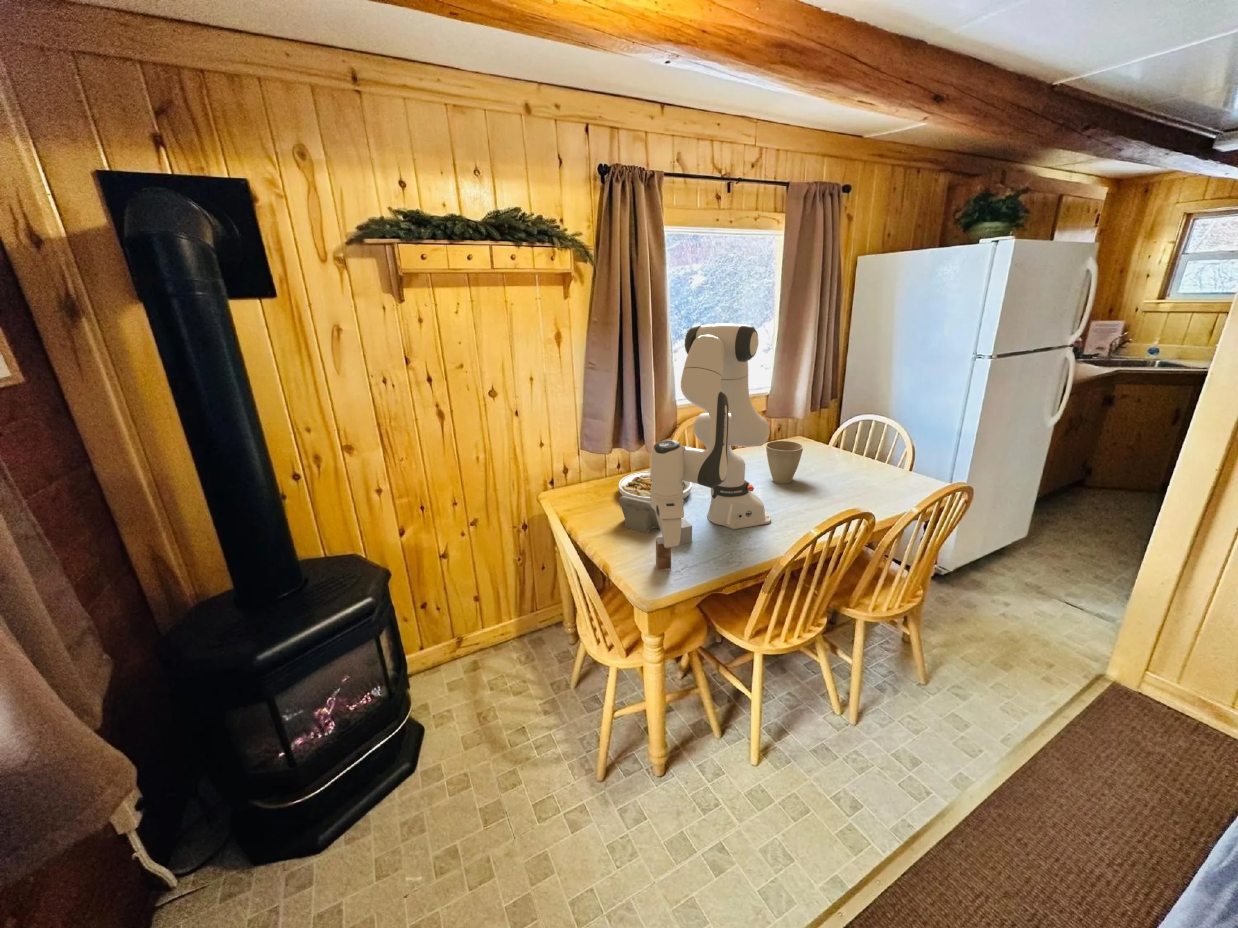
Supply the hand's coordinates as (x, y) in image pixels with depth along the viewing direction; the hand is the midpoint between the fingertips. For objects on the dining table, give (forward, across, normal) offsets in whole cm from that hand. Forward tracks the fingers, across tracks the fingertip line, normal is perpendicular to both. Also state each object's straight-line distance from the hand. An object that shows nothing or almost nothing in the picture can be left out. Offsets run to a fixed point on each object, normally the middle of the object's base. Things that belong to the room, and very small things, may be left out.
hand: (666, 545), depth 134 cm
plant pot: (+10, -69, +61) cm, 93 cm away
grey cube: (+11, -24, +8) cm, 27 cm away
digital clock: (+11, -36, -3) cm, 37 cm away
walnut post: (+11, -8, 0) cm, 14 cm away
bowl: (+11, -64, +5) cm, 65 cm away
